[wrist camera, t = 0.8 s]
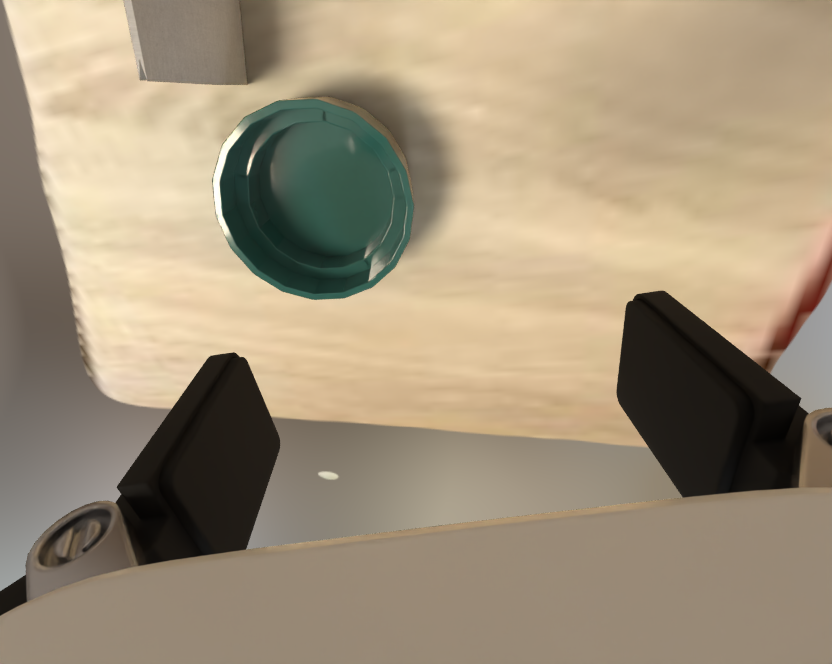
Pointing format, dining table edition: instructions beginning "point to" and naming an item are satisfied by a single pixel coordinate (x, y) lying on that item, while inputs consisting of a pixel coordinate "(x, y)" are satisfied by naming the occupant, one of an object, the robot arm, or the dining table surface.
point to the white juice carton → (188, 41)
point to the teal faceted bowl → (314, 197)
